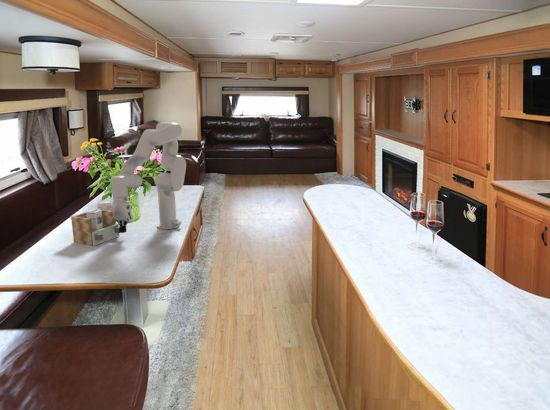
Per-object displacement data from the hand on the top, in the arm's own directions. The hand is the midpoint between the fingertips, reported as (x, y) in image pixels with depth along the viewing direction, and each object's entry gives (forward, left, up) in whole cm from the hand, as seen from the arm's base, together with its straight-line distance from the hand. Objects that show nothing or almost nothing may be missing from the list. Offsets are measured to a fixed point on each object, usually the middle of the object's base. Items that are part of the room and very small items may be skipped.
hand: (123, 232), depth 272 cm
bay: (+13, +7, -4) cm, 15 cm away
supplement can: (+25, -13, -4) cm, 28 cm away
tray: (+10, +7, -3) cm, 13 cm away
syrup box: (+10, +9, -2) cm, 14 cm away
